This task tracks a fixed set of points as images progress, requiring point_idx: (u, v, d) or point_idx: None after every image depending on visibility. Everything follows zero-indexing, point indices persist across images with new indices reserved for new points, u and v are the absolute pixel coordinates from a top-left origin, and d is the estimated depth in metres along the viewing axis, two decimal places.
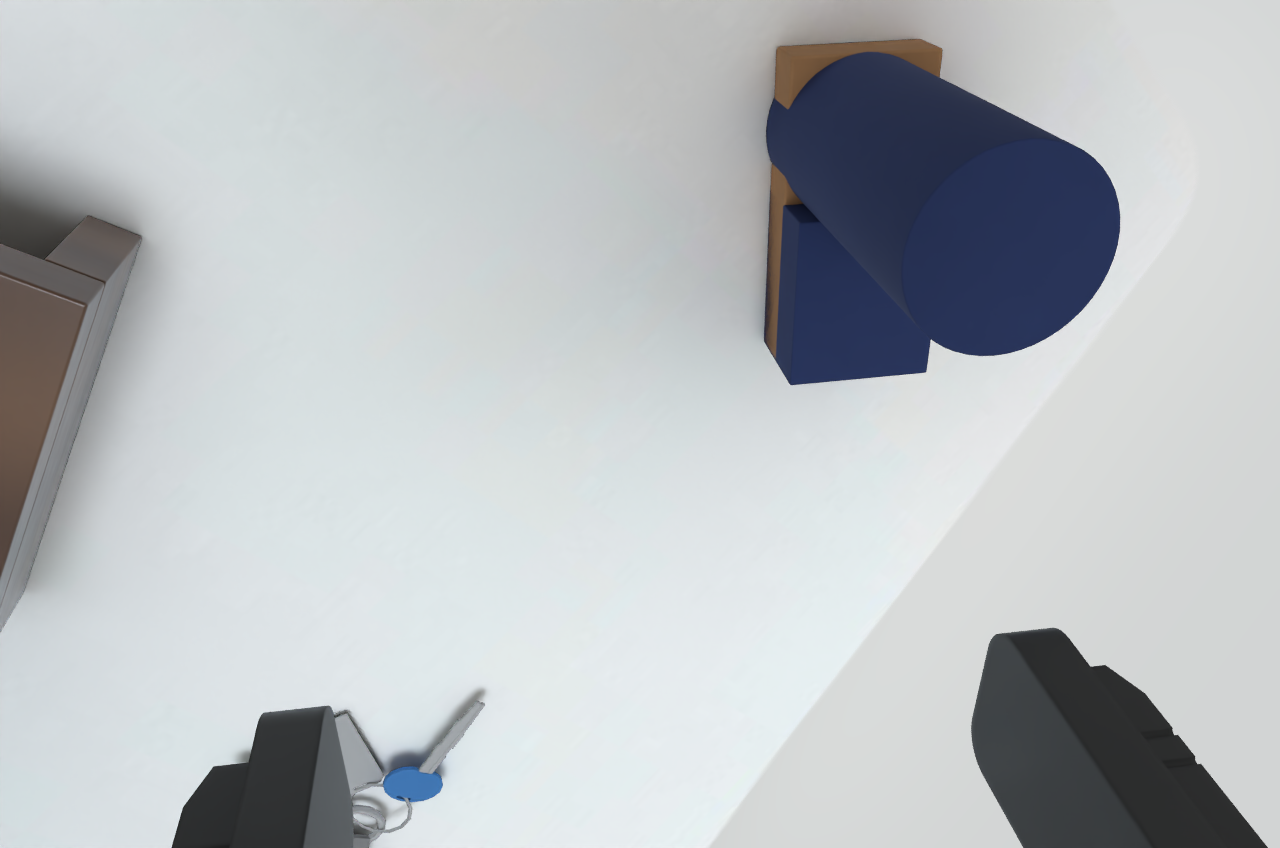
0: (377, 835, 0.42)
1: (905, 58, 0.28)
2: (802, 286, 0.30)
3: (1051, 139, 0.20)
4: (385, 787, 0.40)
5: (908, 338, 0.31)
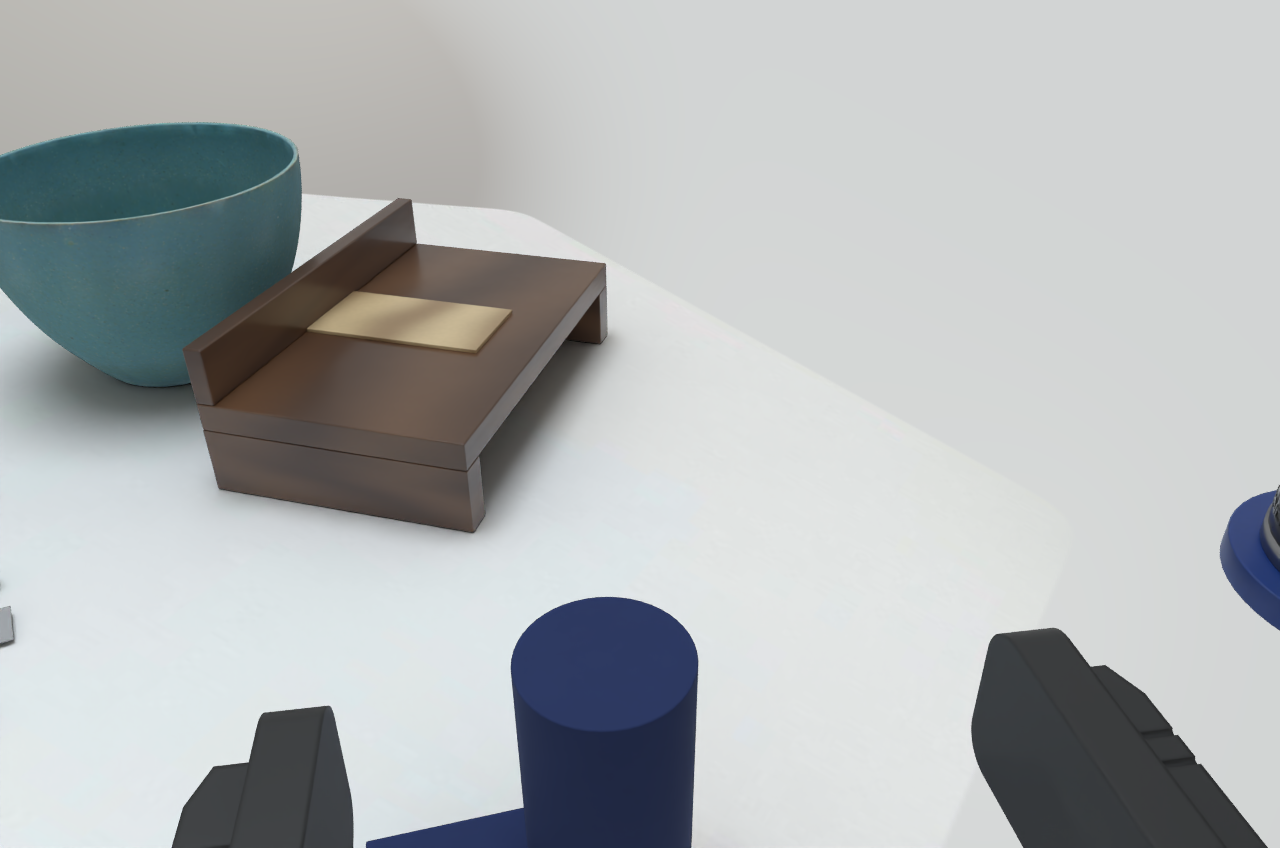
0: None
1: None
2: (475, 822, 0.31)
3: (697, 655, 0.26)
4: None
5: None
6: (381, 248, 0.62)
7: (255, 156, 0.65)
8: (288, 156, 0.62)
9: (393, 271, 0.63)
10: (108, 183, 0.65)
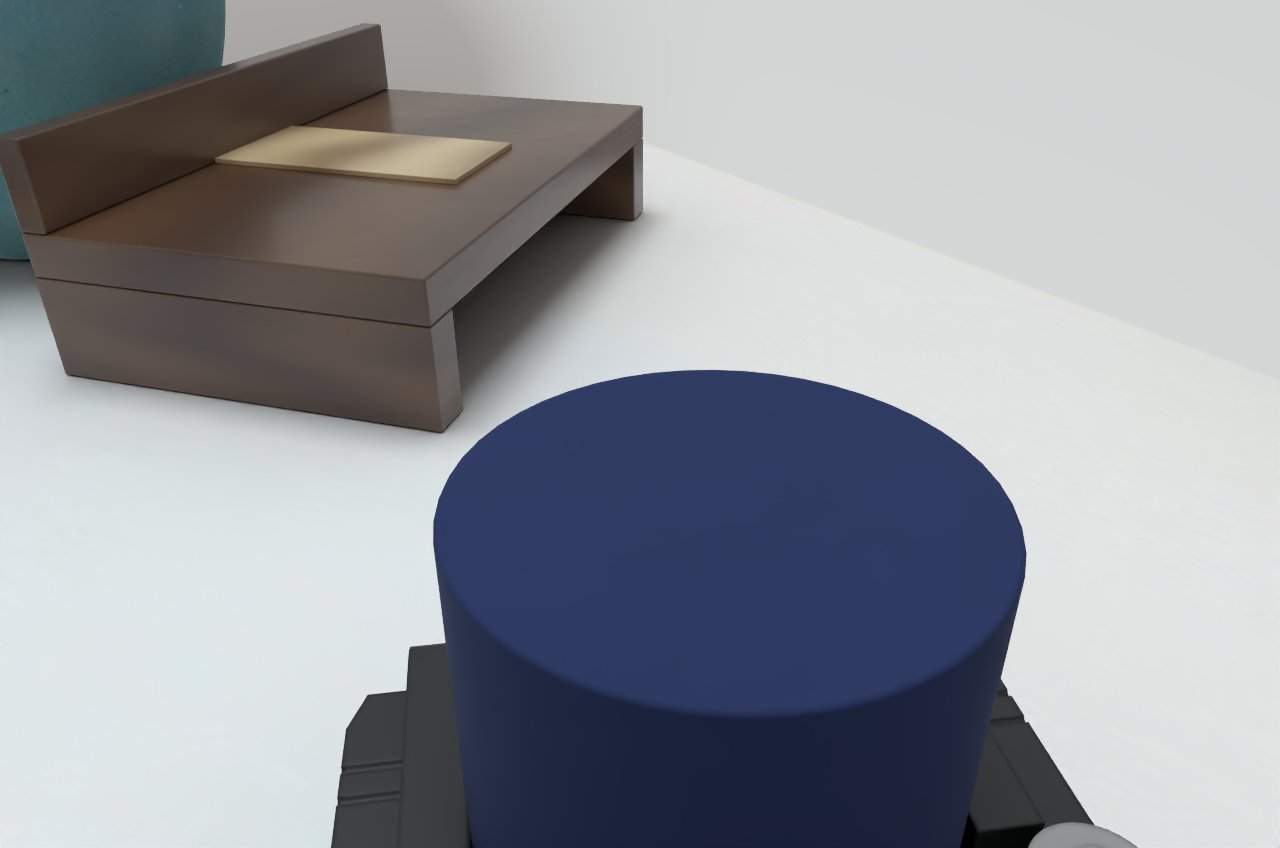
0: None
1: None
2: None
3: (1006, 496, 0.09)
4: None
5: None
6: (334, 78, 0.45)
7: None
8: None
9: (351, 111, 0.46)
10: None
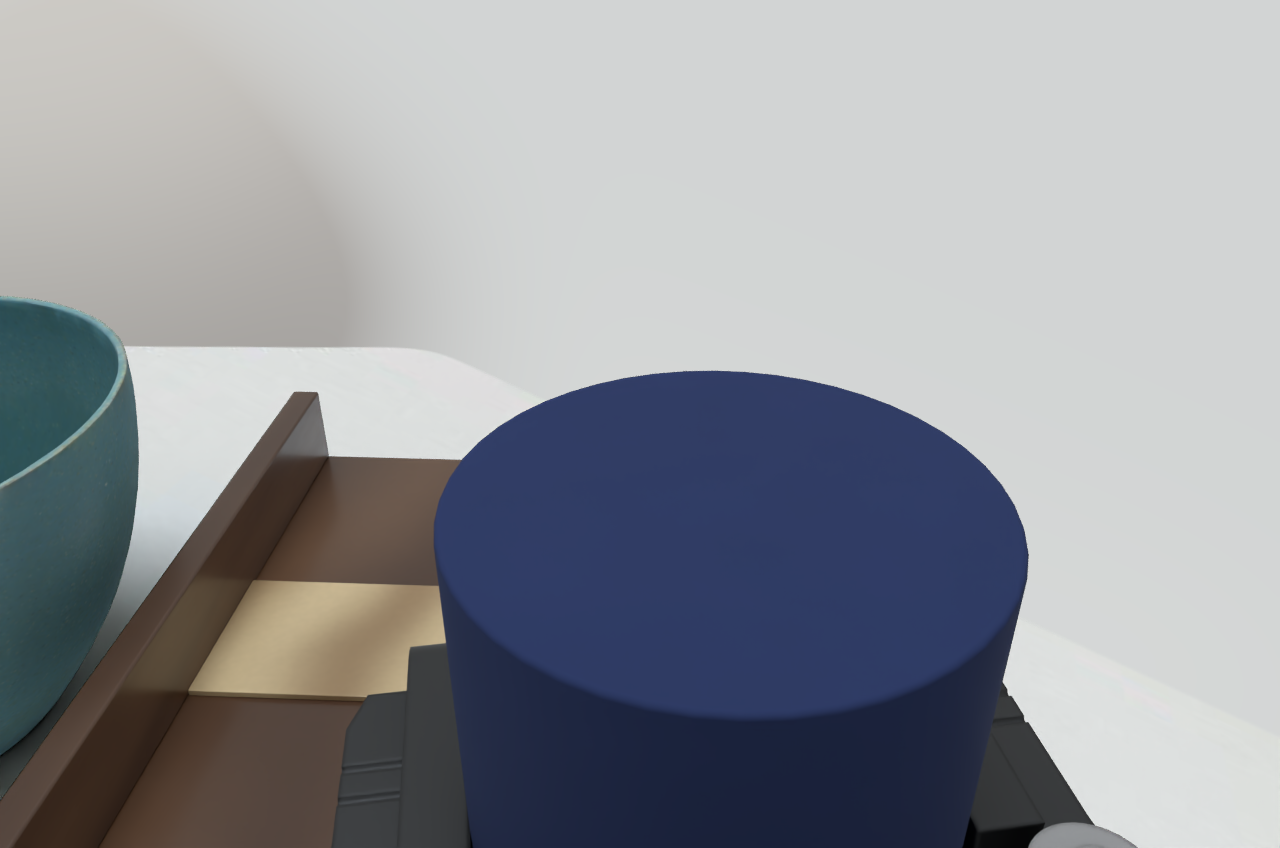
0: None
1: None
2: None
3: (1007, 497, 0.09)
4: None
5: None
6: (285, 489, 0.37)
7: (36, 347, 0.38)
8: (102, 350, 0.36)
9: (308, 523, 0.38)
10: None
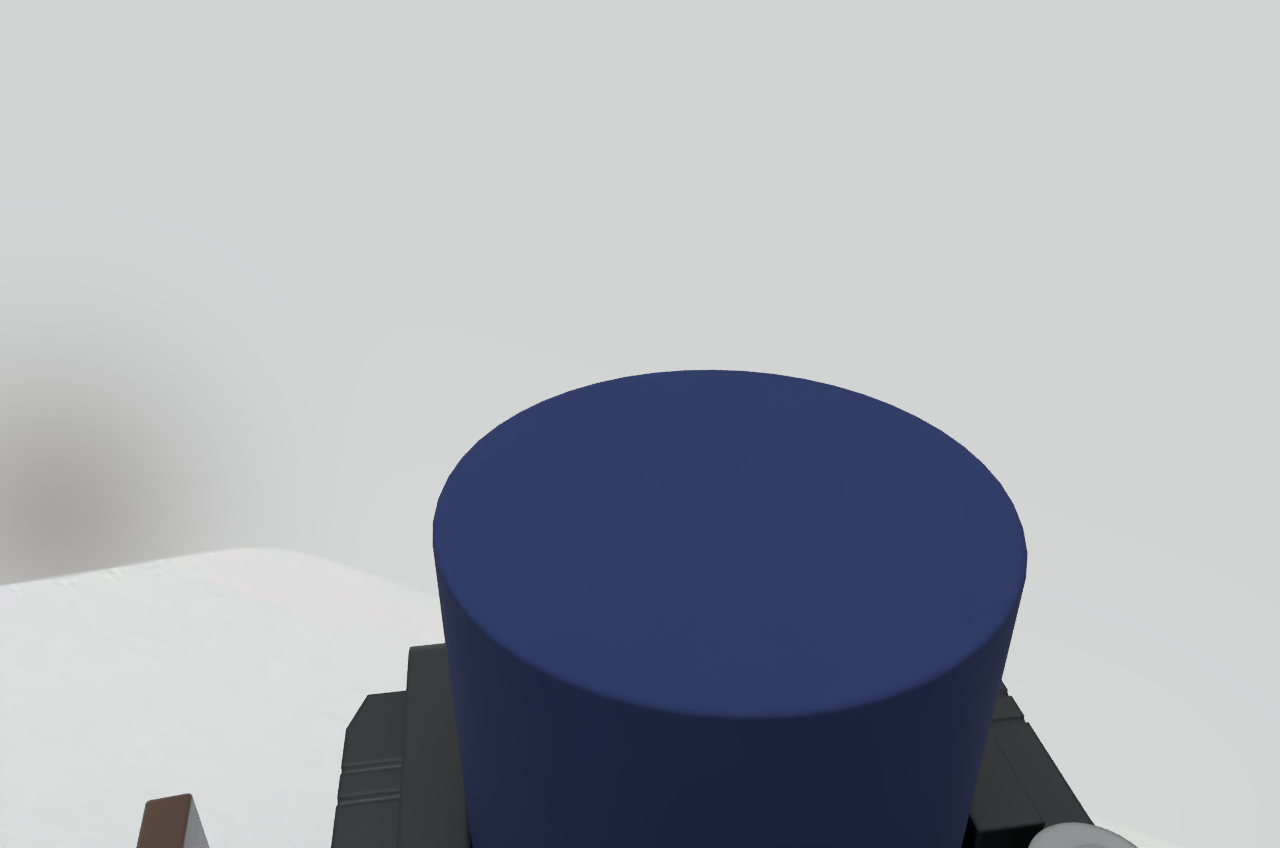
0: None
1: None
2: None
3: (1006, 496, 0.09)
4: None
5: None
6: None
7: None
8: None
9: None
10: None
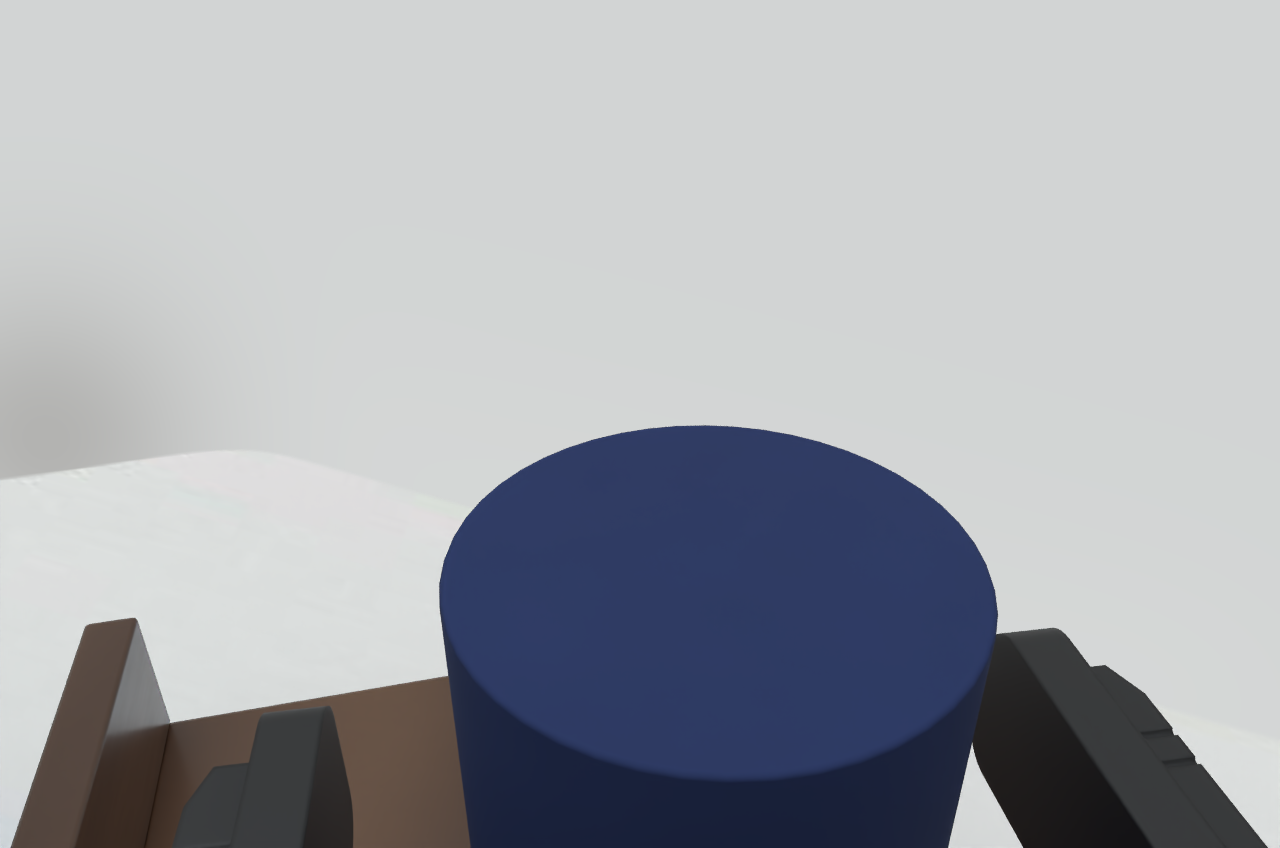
0: None
1: None
2: None
3: (980, 556, 0.09)
4: None
5: None
6: None
7: None
8: None
9: None
10: None
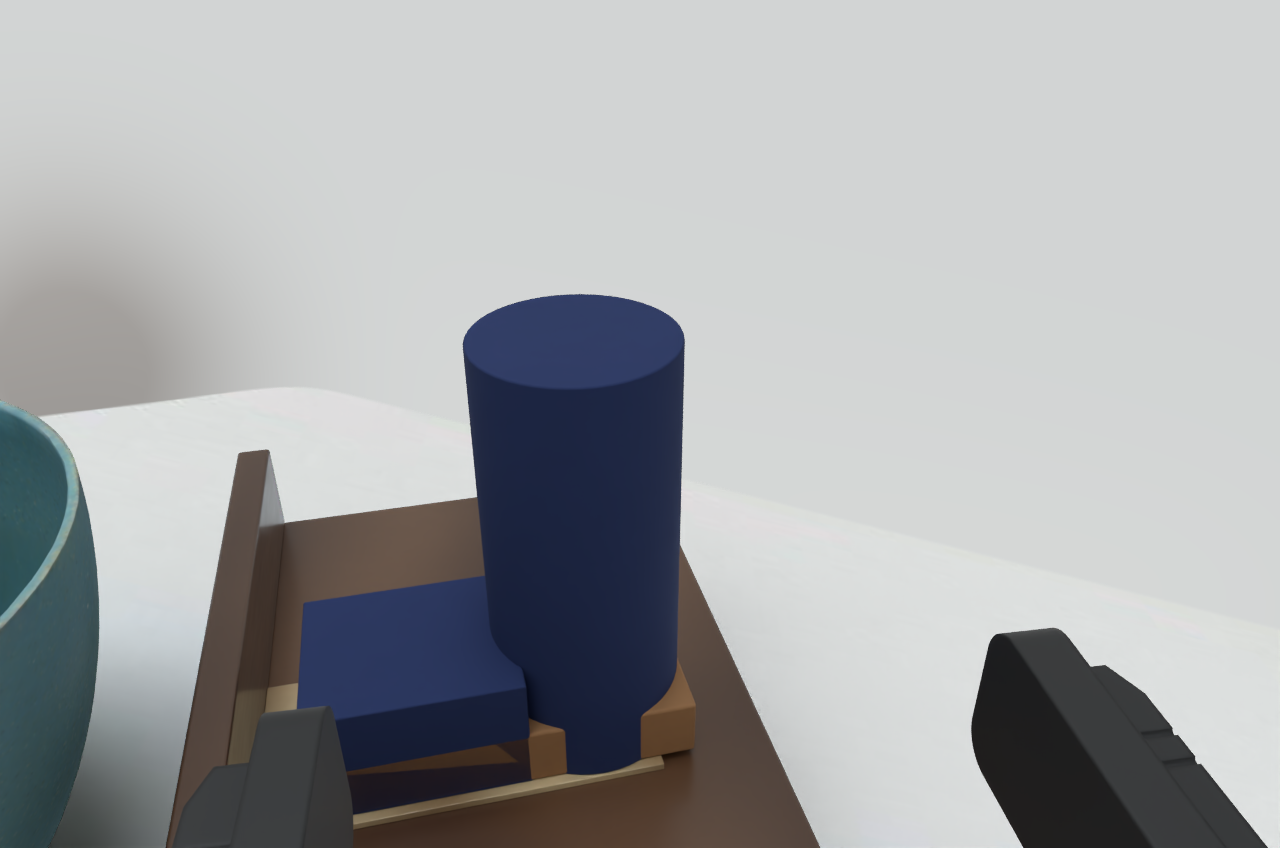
0: None
1: (676, 675, 0.26)
2: (430, 587, 0.27)
3: (683, 336, 0.22)
4: None
5: (353, 693, 0.24)
6: (268, 571, 0.31)
7: None
8: (3, 436, 0.28)
9: (299, 606, 0.31)
10: None
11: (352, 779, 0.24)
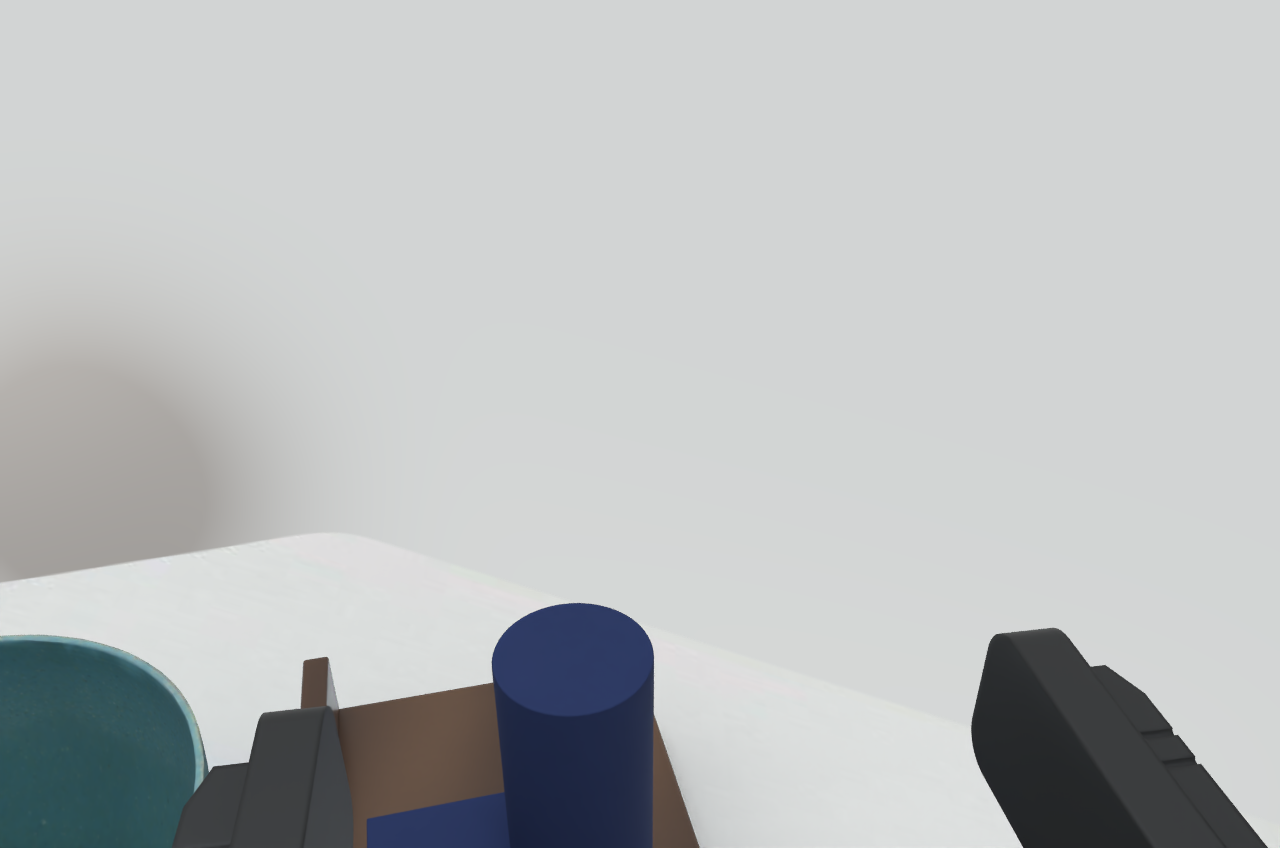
0: None
1: None
2: (463, 803, 0.35)
3: (653, 653, 0.30)
4: None
5: None
6: None
7: (38, 679, 0.37)
8: (131, 679, 0.36)
9: (355, 793, 0.40)
10: None
11: None
